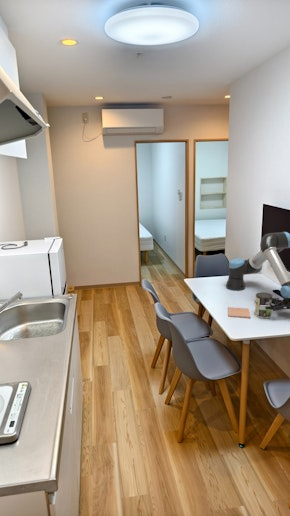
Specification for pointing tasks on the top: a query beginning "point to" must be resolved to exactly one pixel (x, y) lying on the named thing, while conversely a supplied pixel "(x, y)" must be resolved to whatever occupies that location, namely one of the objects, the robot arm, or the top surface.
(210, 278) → the top surface
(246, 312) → the terracotta tile
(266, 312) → the coffee can
